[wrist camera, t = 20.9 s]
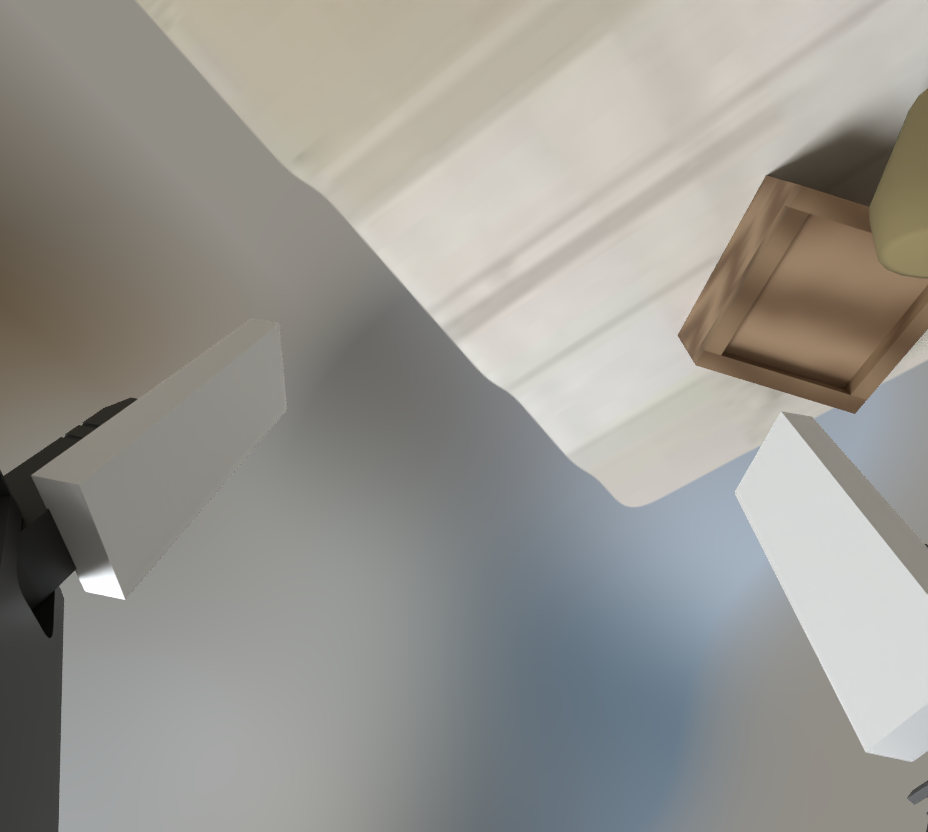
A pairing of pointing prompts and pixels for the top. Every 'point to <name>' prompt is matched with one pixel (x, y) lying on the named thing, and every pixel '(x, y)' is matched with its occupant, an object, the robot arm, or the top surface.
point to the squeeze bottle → (904, 199)
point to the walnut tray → (805, 301)
